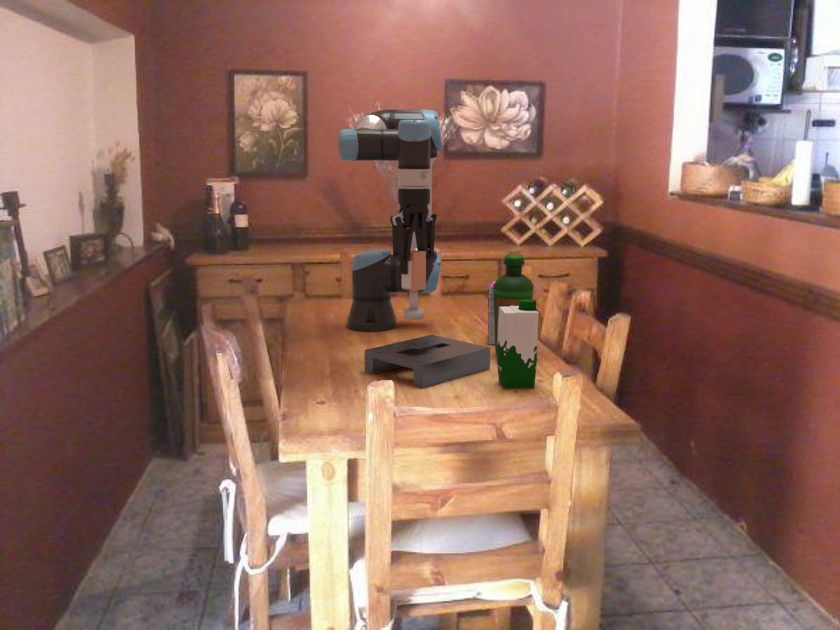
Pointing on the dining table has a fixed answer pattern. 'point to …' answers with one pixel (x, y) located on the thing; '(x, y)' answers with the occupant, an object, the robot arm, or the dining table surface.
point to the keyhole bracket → (430, 359)
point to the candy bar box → (491, 315)
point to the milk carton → (517, 344)
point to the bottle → (511, 286)
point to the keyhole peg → (416, 284)
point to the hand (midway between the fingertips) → (413, 286)
